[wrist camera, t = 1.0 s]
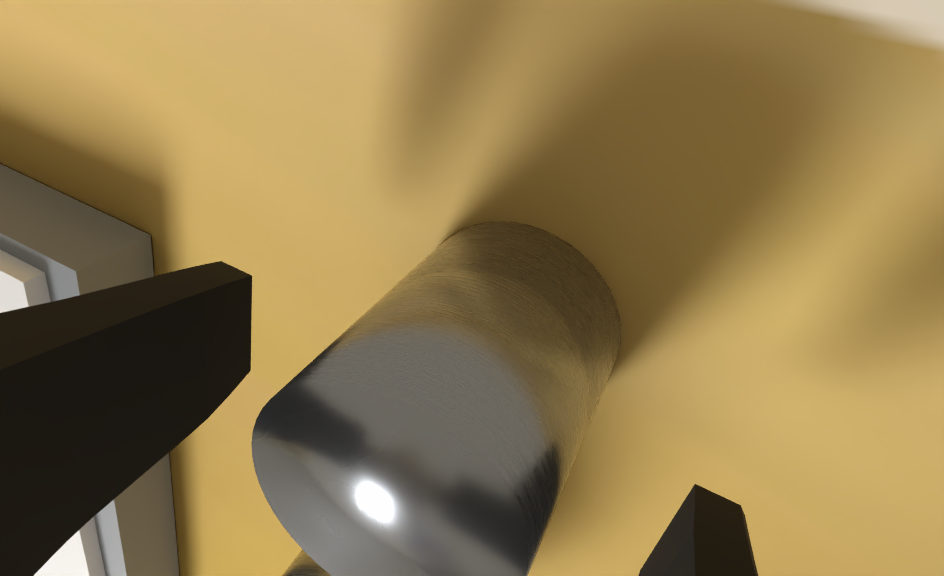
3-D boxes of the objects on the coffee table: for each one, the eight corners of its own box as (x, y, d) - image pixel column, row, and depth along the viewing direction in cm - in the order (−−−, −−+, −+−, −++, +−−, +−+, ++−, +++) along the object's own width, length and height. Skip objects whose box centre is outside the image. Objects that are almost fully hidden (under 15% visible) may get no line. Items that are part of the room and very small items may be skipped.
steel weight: (581, 437, 13) (485, 667, 9) (407, 354, 14) (249, 530, 10) (654, 274, 11) (569, 485, 7) (440, 188, 12) (253, 329, 8)
